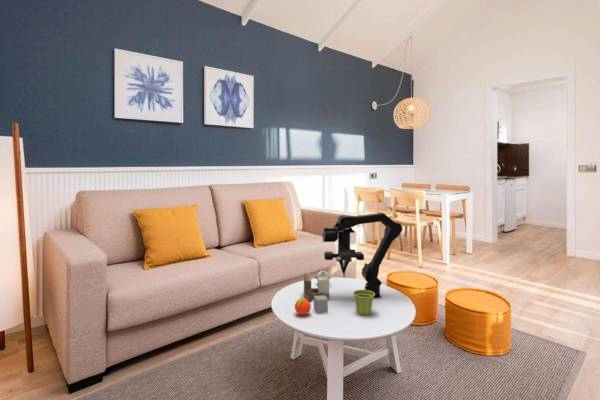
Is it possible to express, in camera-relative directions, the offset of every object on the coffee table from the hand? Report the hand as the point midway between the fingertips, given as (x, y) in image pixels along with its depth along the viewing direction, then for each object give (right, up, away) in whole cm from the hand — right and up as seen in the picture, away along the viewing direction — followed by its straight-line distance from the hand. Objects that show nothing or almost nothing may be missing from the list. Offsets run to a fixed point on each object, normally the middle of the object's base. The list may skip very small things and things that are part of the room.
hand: (343, 273), depth 176 cm
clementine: (-20, -14, -20) cm, 32 cm away
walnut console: (-13, -12, +1) cm, 18 cm away
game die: (-9, -10, +19) cm, 23 cm away
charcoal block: (-12, -14, -15) cm, 24 cm away
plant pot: (+7, -14, -17) cm, 23 cm away
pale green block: (-10, -12, +1) cm, 15 cm away
